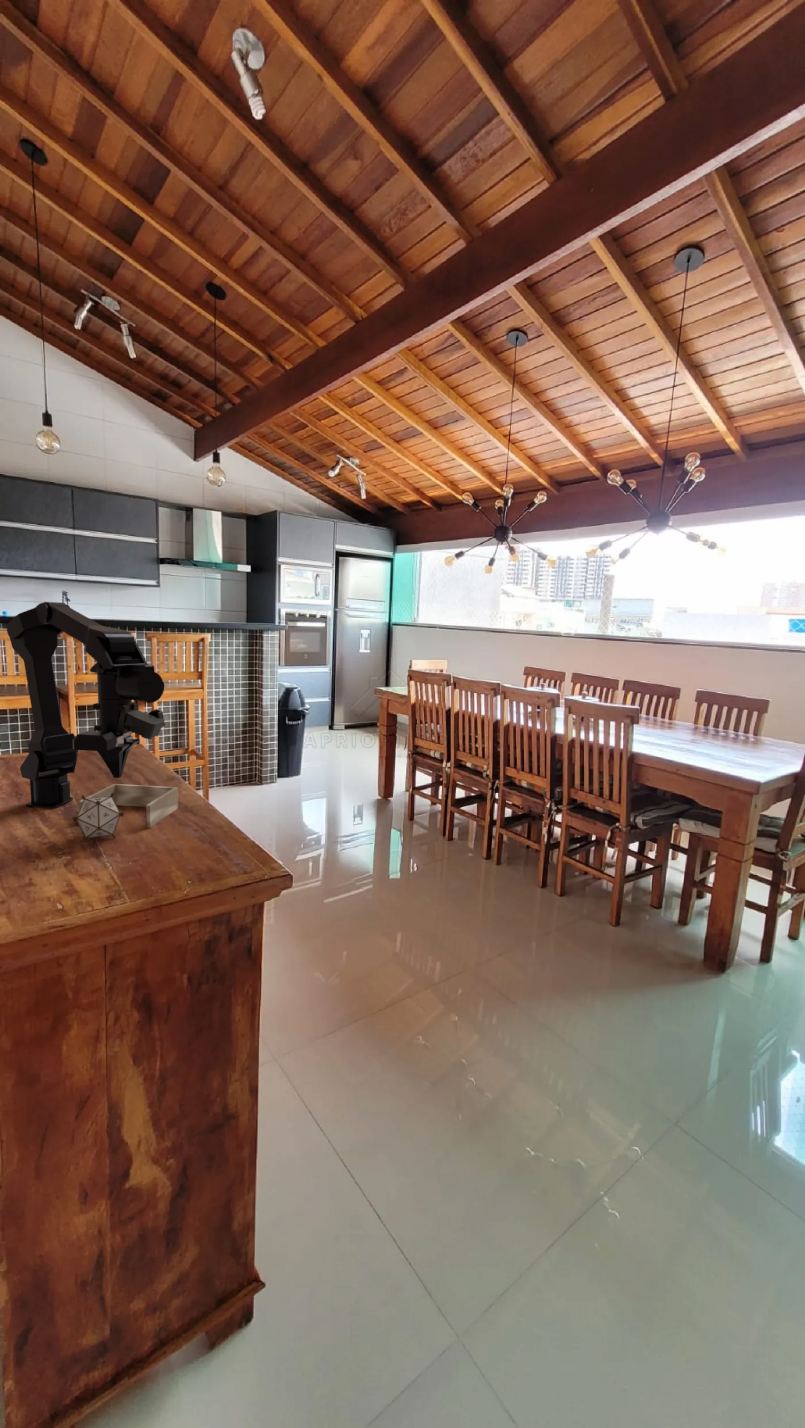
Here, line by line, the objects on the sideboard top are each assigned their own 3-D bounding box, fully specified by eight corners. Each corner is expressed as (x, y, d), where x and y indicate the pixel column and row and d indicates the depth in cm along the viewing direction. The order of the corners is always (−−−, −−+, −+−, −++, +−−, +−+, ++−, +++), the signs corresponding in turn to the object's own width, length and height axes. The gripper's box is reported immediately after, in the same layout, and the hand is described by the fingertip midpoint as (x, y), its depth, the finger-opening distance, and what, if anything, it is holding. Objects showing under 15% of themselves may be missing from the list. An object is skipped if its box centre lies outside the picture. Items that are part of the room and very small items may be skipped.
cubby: (79, 823, 113) (78, 801, 112) (114, 804, 125) (113, 783, 125) (150, 827, 112) (149, 805, 112) (178, 807, 125) (177, 787, 124)
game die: (105, 860, 106) (104, 829, 99) (61, 841, 106) (58, 809, 99) (134, 823, 113) (135, 792, 106) (93, 806, 112) (92, 773, 106)
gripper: (131, 706, 100) (134, 793, 103) (177, 693, 119) (179, 768, 121) (68, 703, 101) (72, 790, 103) (124, 691, 119) (127, 765, 122)
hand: (117, 777), depth 112 cm, fingers closed
